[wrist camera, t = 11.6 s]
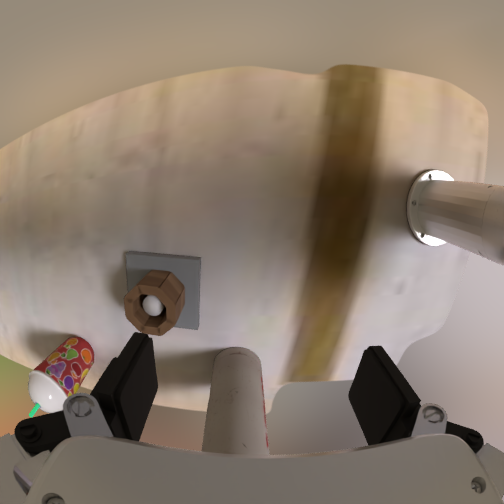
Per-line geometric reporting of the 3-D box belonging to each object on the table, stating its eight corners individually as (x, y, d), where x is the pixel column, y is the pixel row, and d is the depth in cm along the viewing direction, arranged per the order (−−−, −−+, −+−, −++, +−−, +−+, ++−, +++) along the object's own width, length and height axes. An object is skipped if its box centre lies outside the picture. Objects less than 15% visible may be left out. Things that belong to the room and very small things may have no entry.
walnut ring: (185, 272, 38) (175, 289, 32) (184, 316, 39) (176, 338, 34) (139, 267, 37) (122, 282, 31) (141, 311, 39) (127, 330, 33)
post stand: (200, 257, 39) (193, 270, 33) (199, 325, 41) (193, 346, 36) (129, 251, 38) (112, 262, 32) (133, 316, 41) (120, 335, 35)
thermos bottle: (267, 353, 43) (288, 510, 16) (252, 386, 45) (259, 529, 18) (220, 341, 42) (201, 503, 15) (209, 376, 44) (188, 522, 17)
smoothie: (65, 353, 43) (14, 414, 24) (66, 323, 41) (5, 384, 22) (98, 372, 44) (55, 442, 25) (102, 343, 42) (49, 416, 23)
